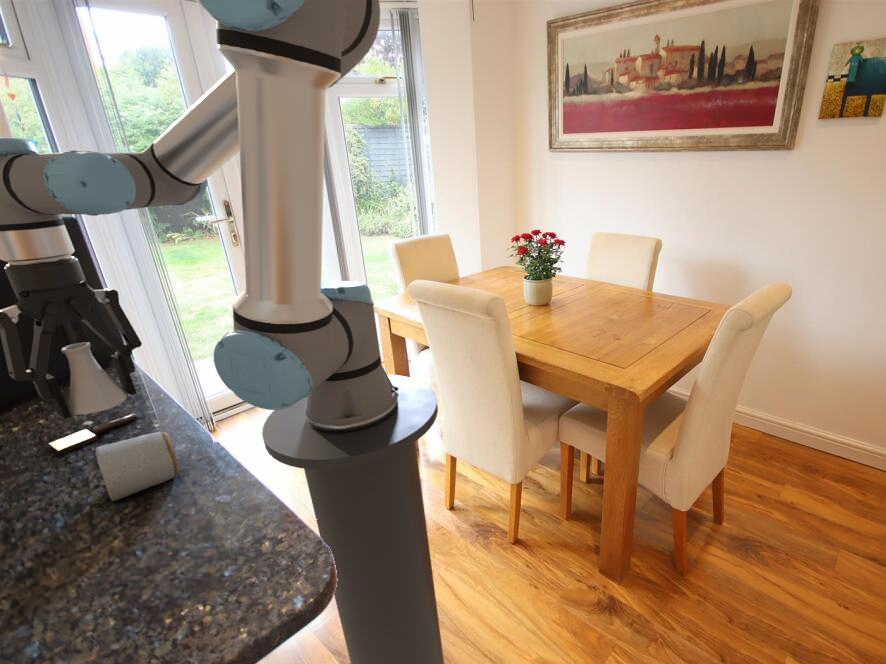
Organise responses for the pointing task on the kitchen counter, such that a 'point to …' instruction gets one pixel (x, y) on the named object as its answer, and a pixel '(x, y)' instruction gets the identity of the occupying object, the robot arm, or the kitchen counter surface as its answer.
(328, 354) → the robot arm
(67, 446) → the spatula
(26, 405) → the kitchen counter surface
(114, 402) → the flask
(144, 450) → the white cylinder
